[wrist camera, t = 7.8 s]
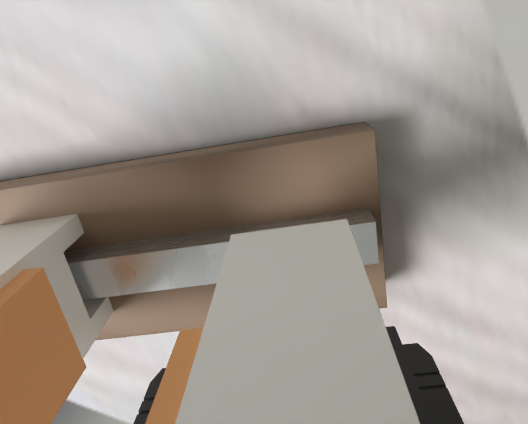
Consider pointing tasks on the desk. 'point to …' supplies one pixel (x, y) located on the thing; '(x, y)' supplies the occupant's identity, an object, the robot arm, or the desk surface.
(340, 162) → the rail
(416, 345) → the robot arm
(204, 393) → the white block with pad
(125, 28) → the desk surface
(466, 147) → the desk surface
